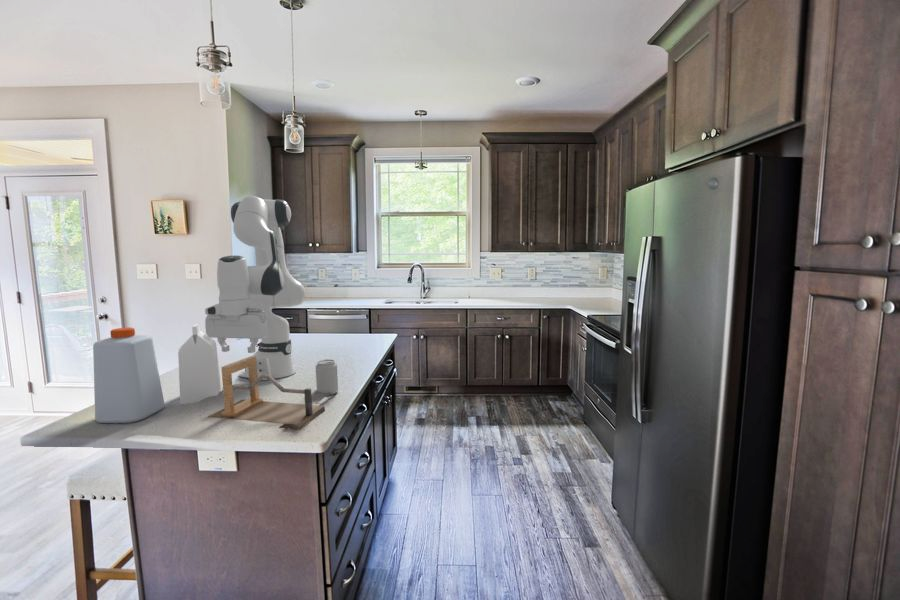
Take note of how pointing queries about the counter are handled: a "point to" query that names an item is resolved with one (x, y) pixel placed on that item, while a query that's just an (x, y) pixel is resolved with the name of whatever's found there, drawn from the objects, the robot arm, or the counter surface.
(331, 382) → the can
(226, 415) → the wooden frame
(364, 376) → the counter surface
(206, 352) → the milk
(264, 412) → the buzz board
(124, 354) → the plastic bottle
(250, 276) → the robot arm
